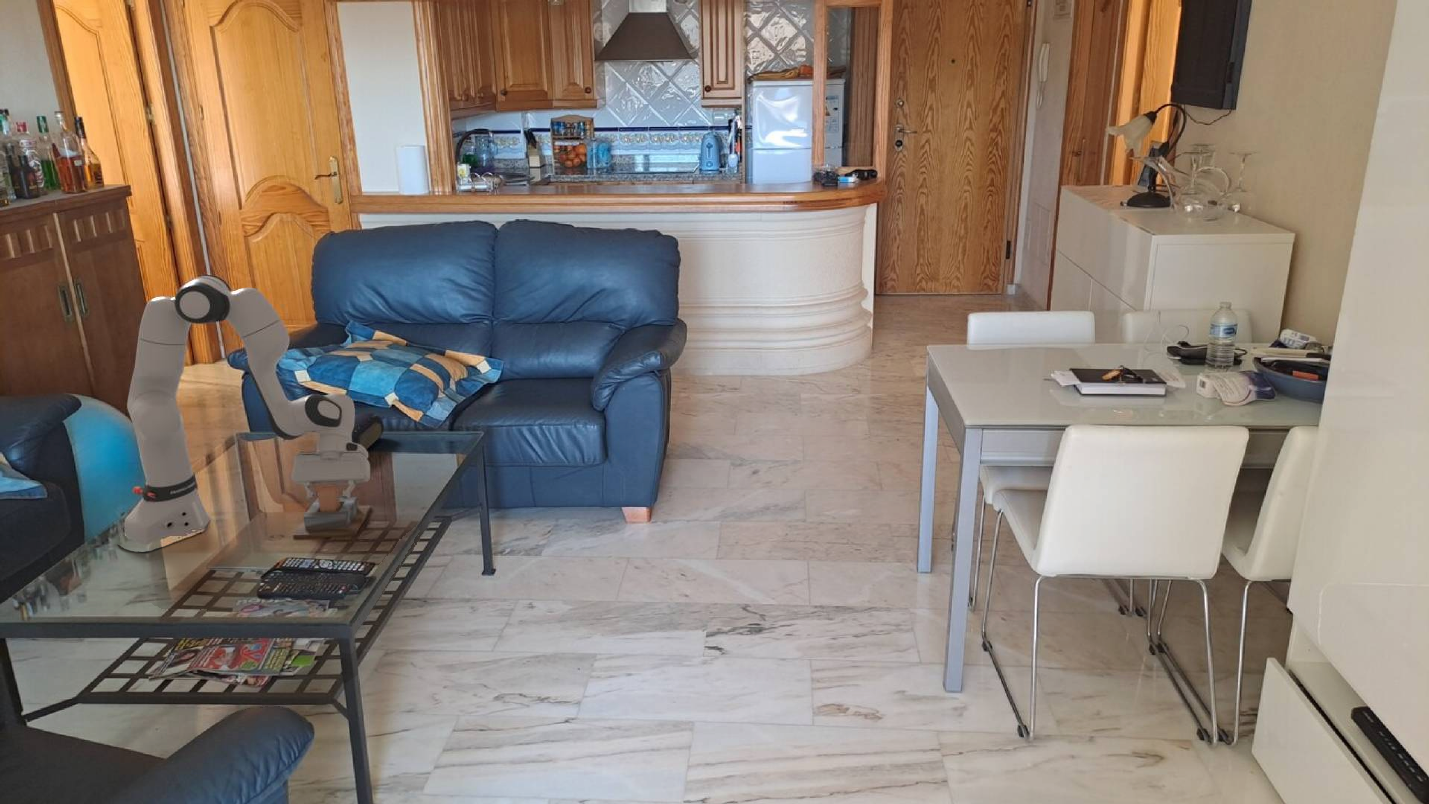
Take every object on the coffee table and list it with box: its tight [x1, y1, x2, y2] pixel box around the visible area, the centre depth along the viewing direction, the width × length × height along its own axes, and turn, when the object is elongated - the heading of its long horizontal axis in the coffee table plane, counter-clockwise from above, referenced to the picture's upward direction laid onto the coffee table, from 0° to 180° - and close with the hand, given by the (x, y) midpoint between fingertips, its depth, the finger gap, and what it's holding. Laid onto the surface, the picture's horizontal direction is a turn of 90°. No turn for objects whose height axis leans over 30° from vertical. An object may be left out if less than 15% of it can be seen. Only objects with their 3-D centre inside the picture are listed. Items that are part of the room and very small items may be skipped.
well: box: [292, 496, 372, 539], centre depth 265 cm, size 16×16×5 cm
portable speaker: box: [351, 411, 385, 450], centre depth 311 cm, size 25×10×10 cm, turn 174°
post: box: [317, 486, 341, 512], centre depth 264 cm, size 4×4×9 cm
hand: (328, 498), depth 262 cm, fingers open, 8 cm apart
